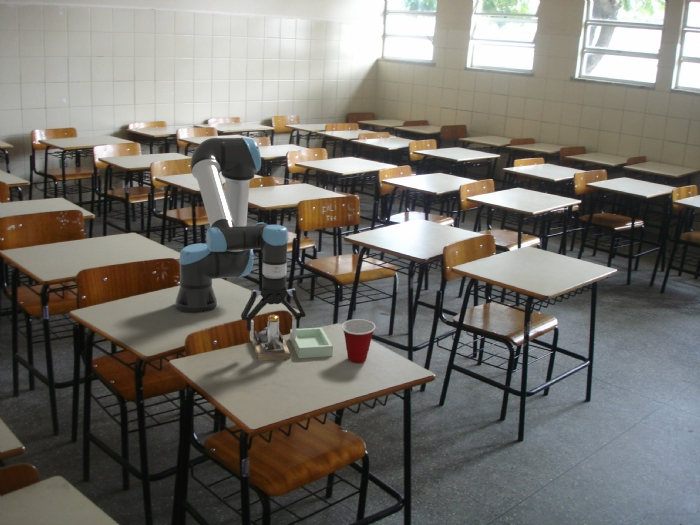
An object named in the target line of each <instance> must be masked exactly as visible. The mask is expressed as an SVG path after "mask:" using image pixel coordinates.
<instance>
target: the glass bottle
mask: <svg viewBox="0 0 700 525" xmlns="http://www.w3.org/2000/svg"><path fill="white" fill-rule="evenodd" d="M266 328H267V329H266V330H267V350H273V349H278V341H279V330H280V316H279V315H277V314H269V315H267V327H266Z"/></svg>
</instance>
